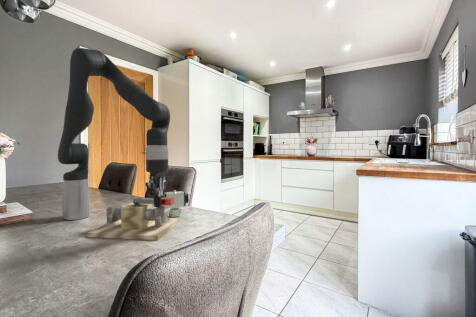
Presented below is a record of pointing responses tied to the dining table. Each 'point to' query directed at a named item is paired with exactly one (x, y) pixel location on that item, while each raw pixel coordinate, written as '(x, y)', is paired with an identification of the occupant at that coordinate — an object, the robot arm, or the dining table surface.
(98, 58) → the robot arm
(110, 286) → the dining table surface
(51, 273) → the dining table surface
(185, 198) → the pneumatic valve
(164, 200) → the valve lever
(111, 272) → the dining table surface
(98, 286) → the dining table surface
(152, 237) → the valve base
